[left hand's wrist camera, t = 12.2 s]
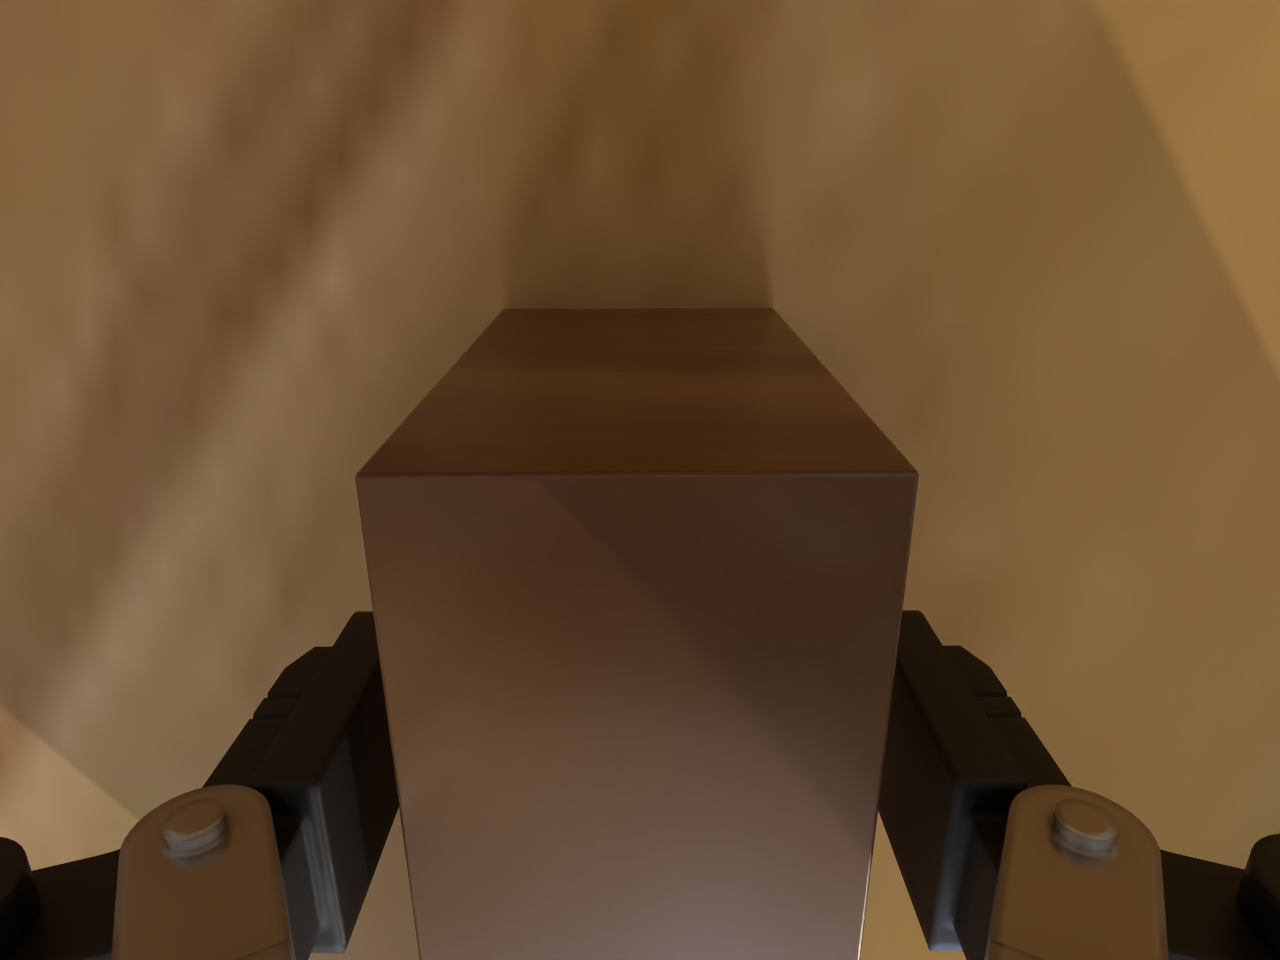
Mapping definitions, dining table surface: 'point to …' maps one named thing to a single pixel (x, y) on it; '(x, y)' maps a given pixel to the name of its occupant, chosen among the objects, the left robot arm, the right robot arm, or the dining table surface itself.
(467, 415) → the bar
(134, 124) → the dining table surface
